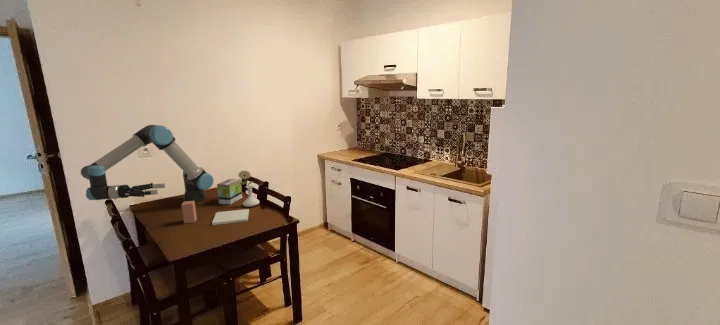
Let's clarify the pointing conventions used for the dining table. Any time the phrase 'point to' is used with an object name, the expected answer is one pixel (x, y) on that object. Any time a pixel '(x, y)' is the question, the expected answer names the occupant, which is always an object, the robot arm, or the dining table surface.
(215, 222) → the grey board
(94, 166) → the robot arm
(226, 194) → the tea box
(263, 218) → the dining table surface
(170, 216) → the dining table surface
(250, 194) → the flower in vase
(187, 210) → the brick block
